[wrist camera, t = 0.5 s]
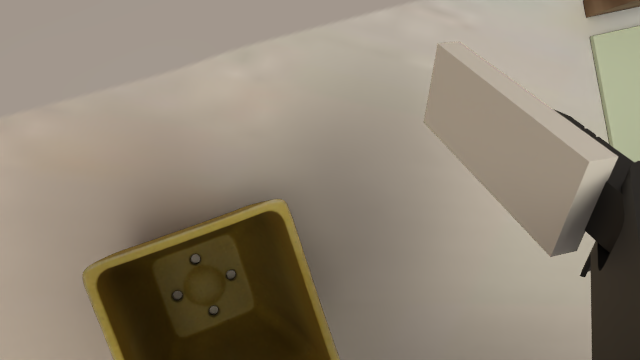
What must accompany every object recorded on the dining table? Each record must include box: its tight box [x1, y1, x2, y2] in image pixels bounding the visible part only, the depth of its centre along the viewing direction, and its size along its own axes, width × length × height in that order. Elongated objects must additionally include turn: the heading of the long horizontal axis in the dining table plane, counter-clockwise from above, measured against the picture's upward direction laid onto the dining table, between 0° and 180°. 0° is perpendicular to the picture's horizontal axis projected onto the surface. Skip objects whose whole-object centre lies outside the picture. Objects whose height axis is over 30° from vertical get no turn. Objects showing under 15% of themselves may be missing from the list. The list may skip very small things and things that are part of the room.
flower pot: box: [83, 199, 340, 360], centre depth 27 cm, size 9×9×9 cm
